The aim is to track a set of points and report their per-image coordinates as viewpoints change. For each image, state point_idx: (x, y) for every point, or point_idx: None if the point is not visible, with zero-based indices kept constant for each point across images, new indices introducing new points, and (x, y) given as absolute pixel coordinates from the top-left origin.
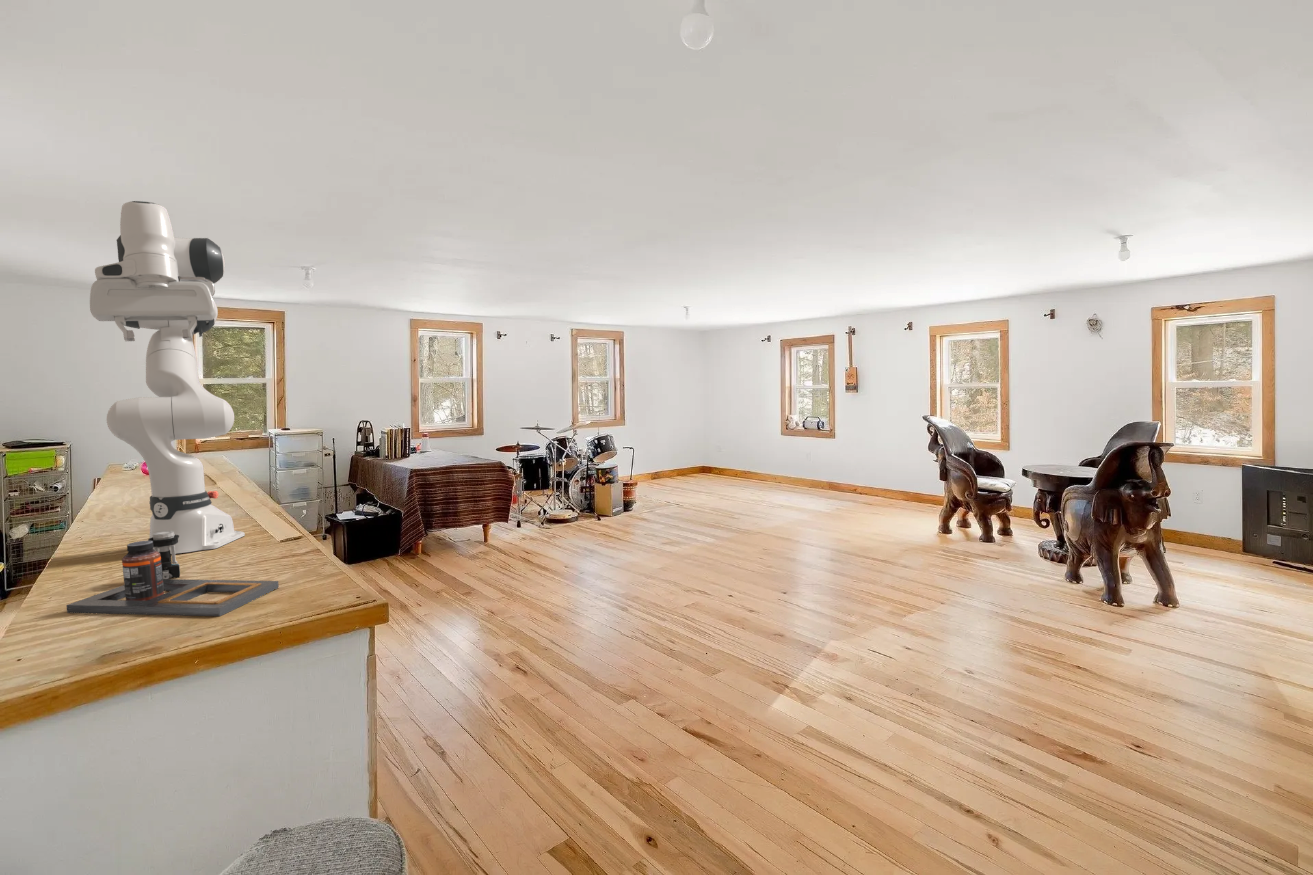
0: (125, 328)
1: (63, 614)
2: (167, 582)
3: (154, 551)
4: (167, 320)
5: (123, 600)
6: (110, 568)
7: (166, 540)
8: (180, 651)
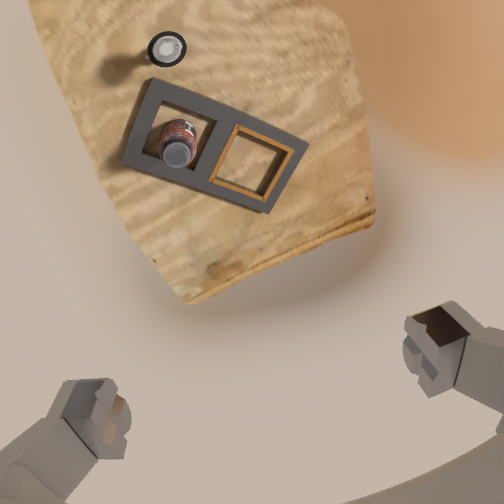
0: (89, 469)
1: None
2: (190, 104)
3: (191, 149)
4: (394, 488)
5: None
6: None
7: (175, 64)
8: (256, 271)
